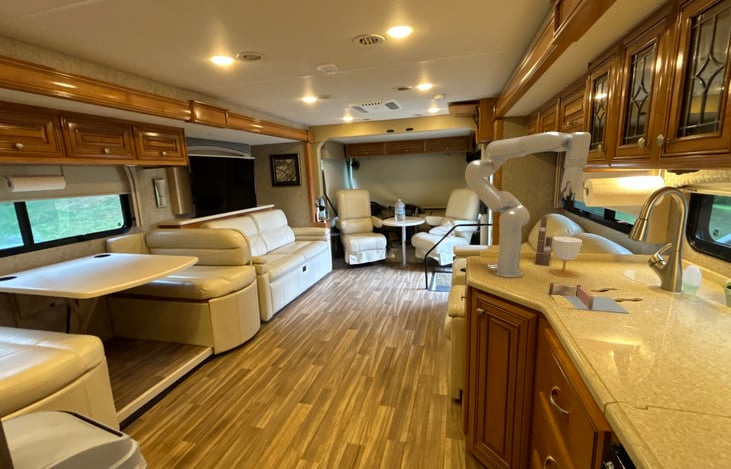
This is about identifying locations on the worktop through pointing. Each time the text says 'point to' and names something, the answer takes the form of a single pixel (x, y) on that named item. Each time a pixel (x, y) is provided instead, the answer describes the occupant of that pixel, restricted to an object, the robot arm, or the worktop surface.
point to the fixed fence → (563, 290)
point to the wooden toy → (543, 245)
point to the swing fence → (585, 297)
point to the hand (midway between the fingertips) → (568, 209)
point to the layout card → (597, 304)
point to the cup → (566, 252)
